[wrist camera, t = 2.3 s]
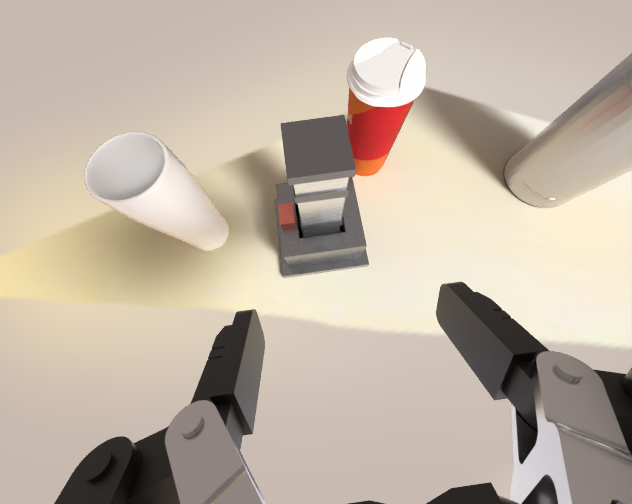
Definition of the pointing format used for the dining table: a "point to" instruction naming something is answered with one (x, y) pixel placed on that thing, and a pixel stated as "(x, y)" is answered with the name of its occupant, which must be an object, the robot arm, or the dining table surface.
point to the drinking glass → (154, 190)
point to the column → (318, 171)
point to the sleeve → (319, 238)
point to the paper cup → (381, 98)
